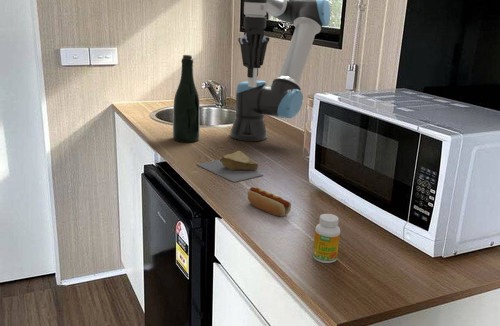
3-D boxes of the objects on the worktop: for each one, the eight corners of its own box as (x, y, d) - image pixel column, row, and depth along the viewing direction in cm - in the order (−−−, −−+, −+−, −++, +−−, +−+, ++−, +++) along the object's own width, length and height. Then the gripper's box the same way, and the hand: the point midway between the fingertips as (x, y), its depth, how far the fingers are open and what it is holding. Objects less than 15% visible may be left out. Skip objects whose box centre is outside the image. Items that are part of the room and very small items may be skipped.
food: (242, 204, 134) (243, 187, 133) (256, 199, 138) (257, 183, 137) (280, 221, 125) (281, 203, 124) (294, 216, 129) (295, 198, 127)
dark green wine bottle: (192, 135, 201) (193, 53, 191) (203, 141, 193) (206, 56, 183) (168, 137, 196) (169, 53, 186) (179, 144, 187) (180, 56, 177)
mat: (224, 159, 172) (224, 158, 172) (262, 175, 158) (263, 174, 157) (196, 165, 164) (196, 164, 164) (234, 182, 150) (234, 181, 150)
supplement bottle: (314, 263, 105) (319, 222, 102) (310, 251, 110) (314, 211, 107) (339, 264, 105) (344, 223, 102) (334, 252, 110) (338, 212, 107)
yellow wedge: (258, 164, 157) (238, 142, 159) (238, 182, 157) (218, 159, 159) (261, 169, 168) (242, 148, 170) (243, 186, 168) (224, 165, 170)
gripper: (249, 16, 155) (246, 90, 163) (276, 16, 164) (272, 86, 172) (233, 15, 160) (231, 86, 168) (260, 15, 169) (257, 83, 177)
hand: (252, 86), depth 170 cm, fingers closed
